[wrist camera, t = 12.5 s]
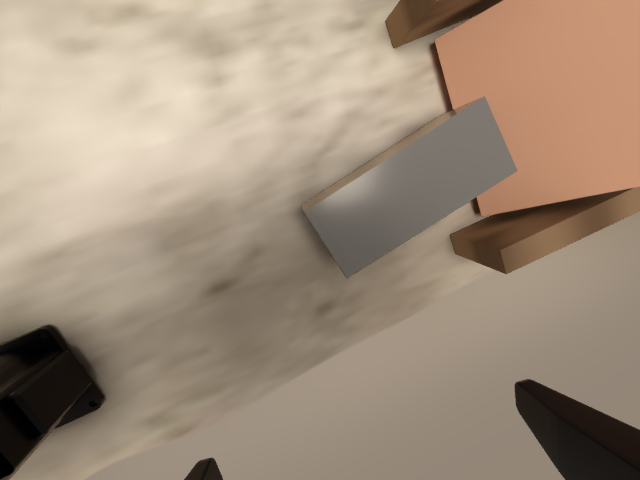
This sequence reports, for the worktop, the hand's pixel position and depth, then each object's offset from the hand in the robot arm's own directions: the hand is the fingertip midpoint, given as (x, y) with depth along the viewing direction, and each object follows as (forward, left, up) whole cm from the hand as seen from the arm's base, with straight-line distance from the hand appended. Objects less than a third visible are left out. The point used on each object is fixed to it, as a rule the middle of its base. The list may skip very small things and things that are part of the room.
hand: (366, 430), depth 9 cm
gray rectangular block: (+13, +5, -10) cm, 17 cm away
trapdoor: (+20, +5, -12) cm, 23 cm away
